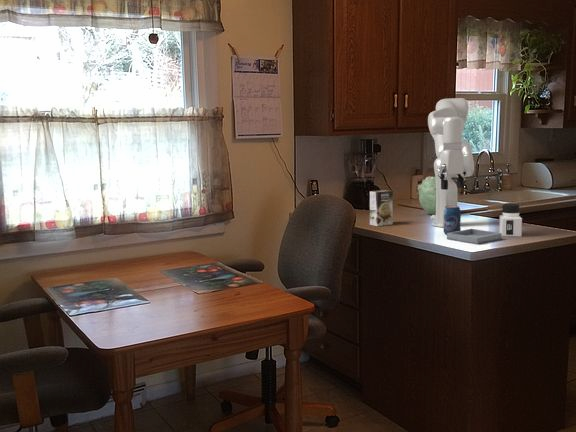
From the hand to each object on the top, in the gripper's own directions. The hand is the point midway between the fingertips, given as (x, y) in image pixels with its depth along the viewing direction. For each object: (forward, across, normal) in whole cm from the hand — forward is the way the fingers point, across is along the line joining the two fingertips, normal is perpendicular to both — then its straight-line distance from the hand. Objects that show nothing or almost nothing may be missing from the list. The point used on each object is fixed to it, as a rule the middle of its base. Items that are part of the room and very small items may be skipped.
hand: (452, 188), depth 256 cm
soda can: (+20, 0, 0) cm, 20 cm away
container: (+20, -16, +16) cm, 31 cm away
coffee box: (+19, +2, -40) cm, 45 cm away
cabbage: (+19, -38, -42) cm, 60 cm away
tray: (+20, +2, +12) cm, 23 cm away
